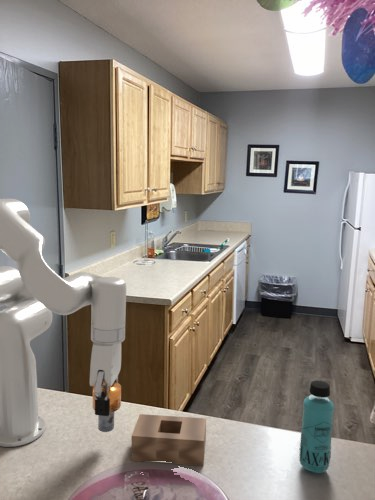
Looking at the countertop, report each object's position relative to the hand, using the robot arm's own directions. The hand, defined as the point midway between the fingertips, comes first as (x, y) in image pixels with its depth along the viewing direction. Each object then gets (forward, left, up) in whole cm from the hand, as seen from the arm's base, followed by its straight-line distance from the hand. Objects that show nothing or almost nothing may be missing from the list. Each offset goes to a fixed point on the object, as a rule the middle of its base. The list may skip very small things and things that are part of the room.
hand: (106, 406), depth 99 cm
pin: (0, 0, -5) cm, 5 cm away
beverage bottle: (+47, -3, -10) cm, 48 cm away
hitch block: (+15, 0, -10) cm, 18 cm away
